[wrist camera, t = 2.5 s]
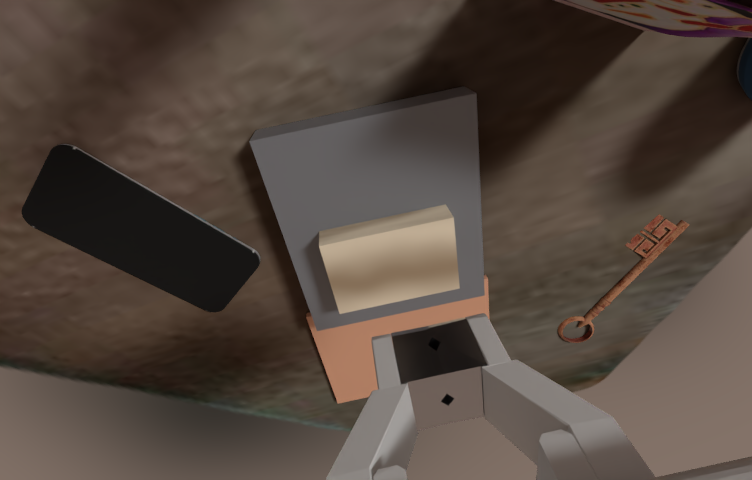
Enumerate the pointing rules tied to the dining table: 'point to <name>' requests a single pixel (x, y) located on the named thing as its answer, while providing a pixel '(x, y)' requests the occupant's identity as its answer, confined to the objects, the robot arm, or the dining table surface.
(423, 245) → the tile
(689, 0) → the greeting card
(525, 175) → the dining table surface
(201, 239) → the smartphone
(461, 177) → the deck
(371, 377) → the mat
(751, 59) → the soda can
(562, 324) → the key
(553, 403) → the robot arm
